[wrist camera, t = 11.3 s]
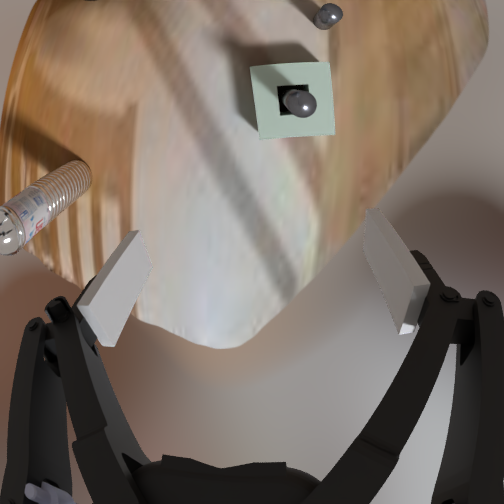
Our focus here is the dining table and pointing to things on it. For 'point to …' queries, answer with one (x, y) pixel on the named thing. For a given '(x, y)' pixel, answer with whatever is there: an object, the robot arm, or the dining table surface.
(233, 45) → the dining table surface
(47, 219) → the water bottle
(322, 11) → the short pin
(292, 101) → the long pin
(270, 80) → the hole block
